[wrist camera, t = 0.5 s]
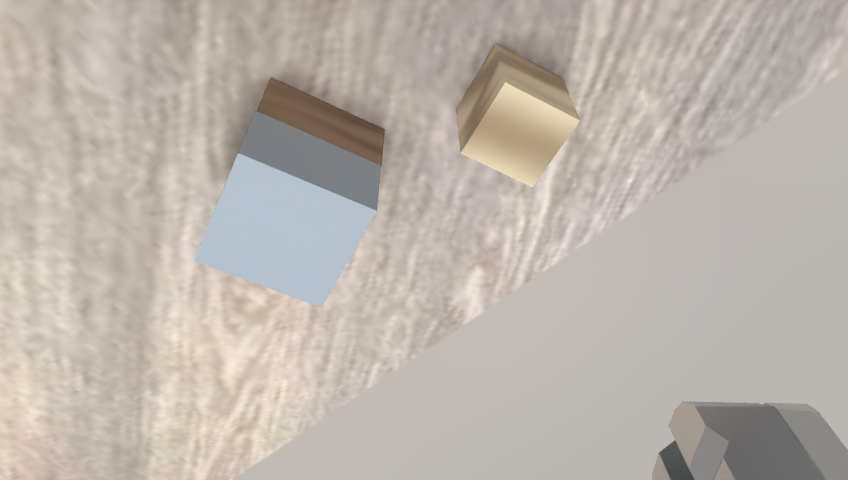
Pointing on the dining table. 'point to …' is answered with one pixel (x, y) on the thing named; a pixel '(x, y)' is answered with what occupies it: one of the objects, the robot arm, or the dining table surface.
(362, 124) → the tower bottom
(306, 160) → the tower top
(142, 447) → the dining table surface
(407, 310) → the dining table surface
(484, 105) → the maple block
